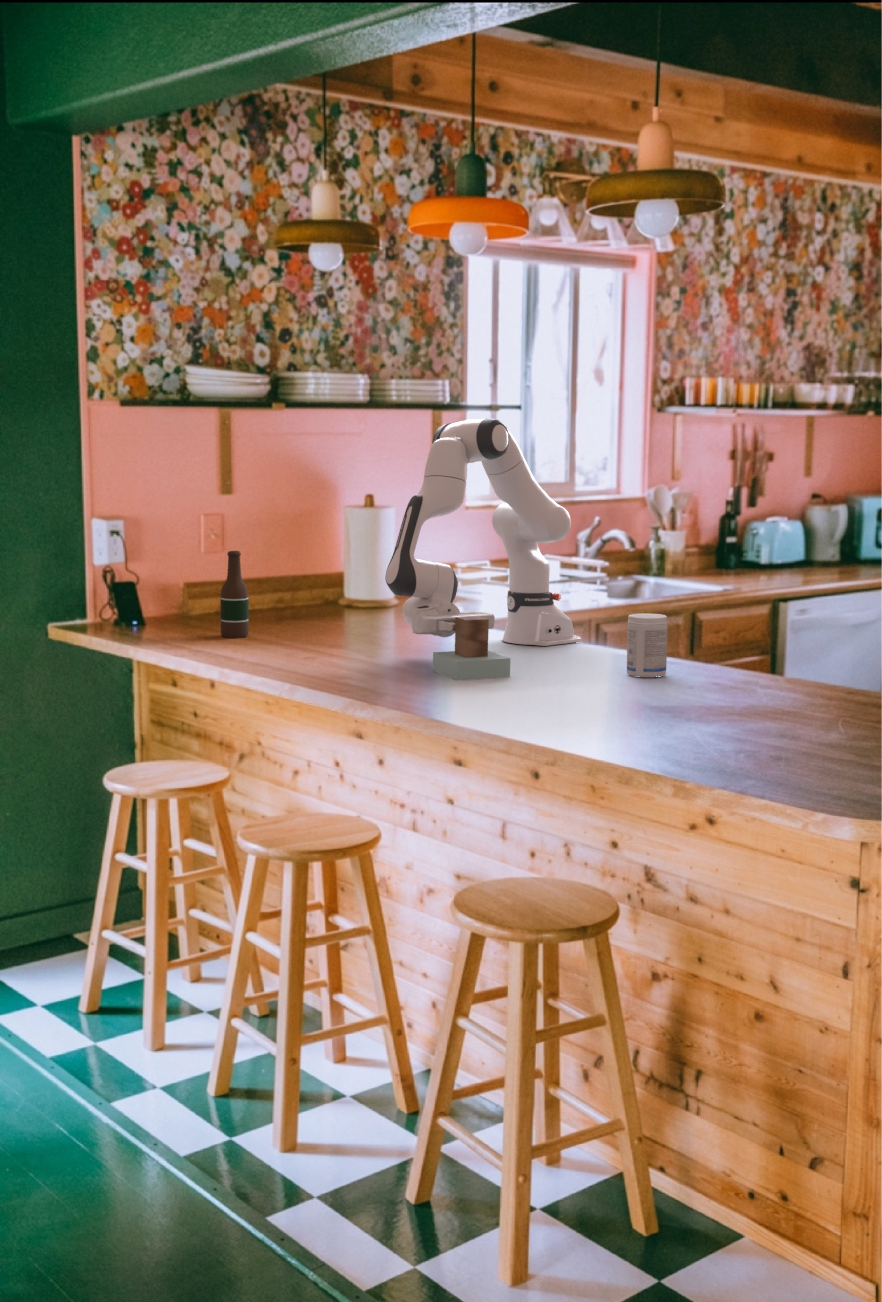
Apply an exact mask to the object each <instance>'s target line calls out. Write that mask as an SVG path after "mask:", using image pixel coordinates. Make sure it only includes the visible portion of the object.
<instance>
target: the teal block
mask: <svg viewBox="0 0 882 1302" xmlns="http://www.w3.org/2000/svg"><path fill="white" fill-rule="evenodd" d="M432 656H433V657H432V671H433V672H435V673H438V674H441V675H442V676H443V675H444V676H445V677H447V678H451V679H452V680H455V681H468V680H482V679H497V678H498V679H499V678H510V677H511V657H508V656H506V655H501V654H499V653H496V652H494V651H491V650H488V657H468V658H465V657H462V656H459V655H457V654H455V650H453V651H451V650H450V651H448V650H447V651H435V652H433V653H432Z"/></svg>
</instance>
